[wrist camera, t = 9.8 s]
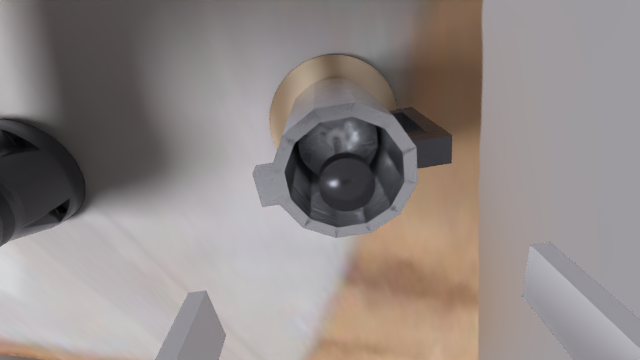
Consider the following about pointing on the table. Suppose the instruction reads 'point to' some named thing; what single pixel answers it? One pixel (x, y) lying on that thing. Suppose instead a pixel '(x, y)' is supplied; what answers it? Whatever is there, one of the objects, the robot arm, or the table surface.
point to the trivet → (318, 71)
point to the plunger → (342, 161)
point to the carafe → (386, 166)
